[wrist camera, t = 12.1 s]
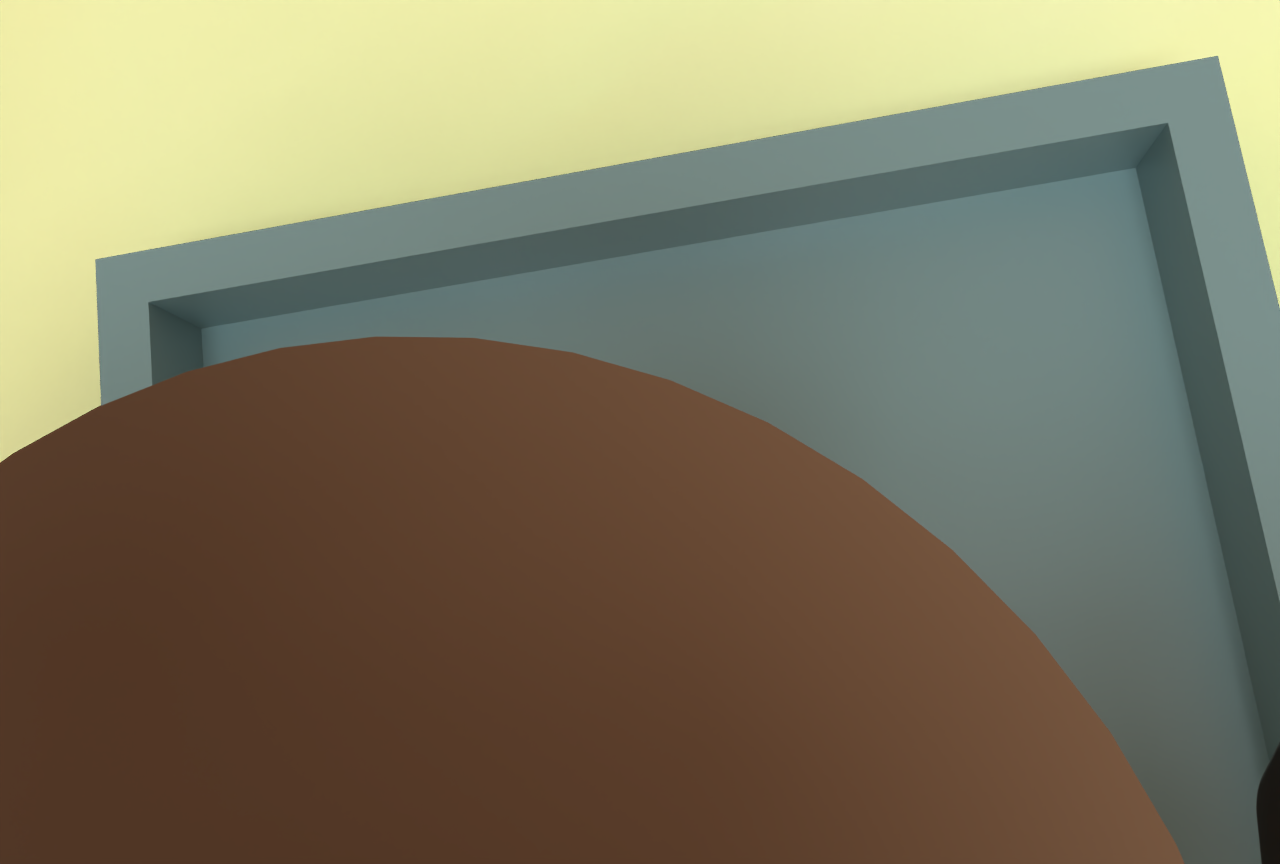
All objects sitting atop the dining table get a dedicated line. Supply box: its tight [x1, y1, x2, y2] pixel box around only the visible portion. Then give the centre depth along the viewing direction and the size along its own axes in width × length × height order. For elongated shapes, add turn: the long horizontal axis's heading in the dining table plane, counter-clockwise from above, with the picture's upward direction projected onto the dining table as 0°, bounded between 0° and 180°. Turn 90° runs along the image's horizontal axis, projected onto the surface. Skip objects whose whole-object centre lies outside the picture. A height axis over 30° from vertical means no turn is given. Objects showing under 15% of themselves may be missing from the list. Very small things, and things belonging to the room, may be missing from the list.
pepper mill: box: [0, 336, 1185, 864], centre depth 10 cm, size 5×5×13 cm
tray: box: [96, 56, 1280, 864], centre depth 15 cm, size 16×16×2 cm
